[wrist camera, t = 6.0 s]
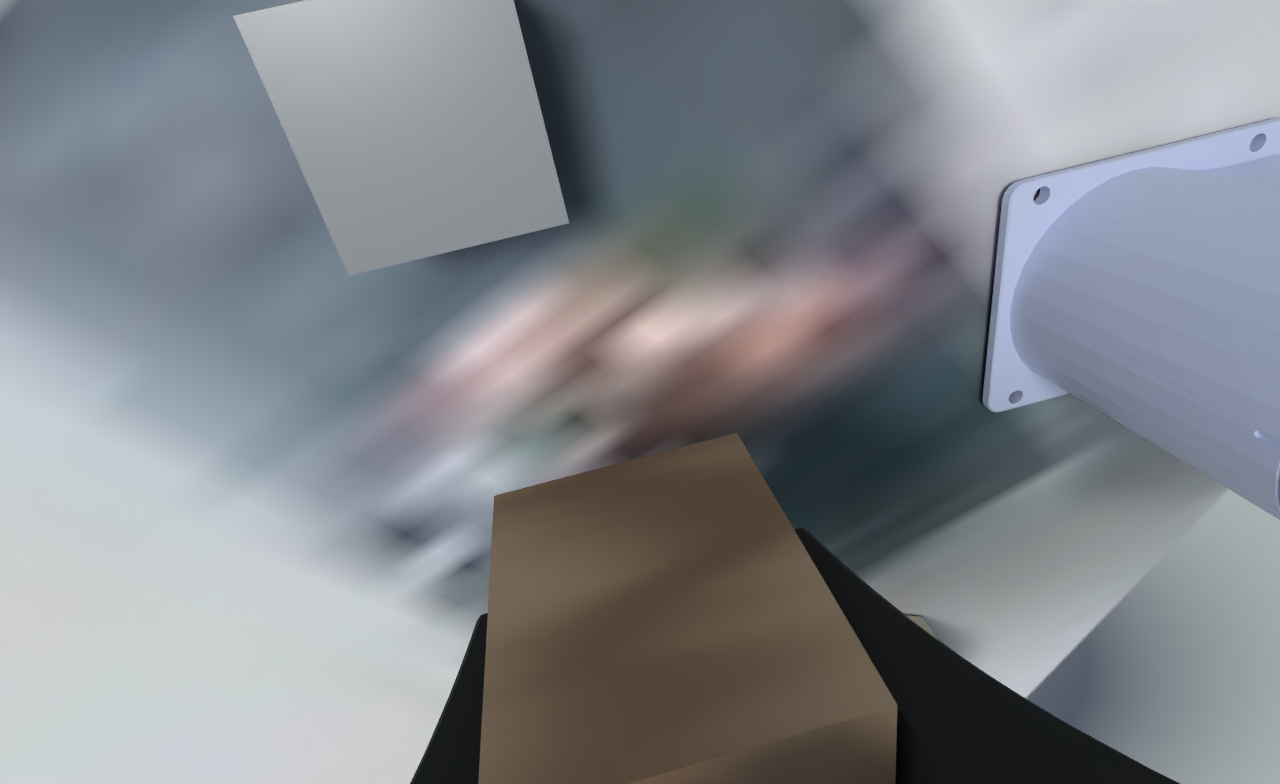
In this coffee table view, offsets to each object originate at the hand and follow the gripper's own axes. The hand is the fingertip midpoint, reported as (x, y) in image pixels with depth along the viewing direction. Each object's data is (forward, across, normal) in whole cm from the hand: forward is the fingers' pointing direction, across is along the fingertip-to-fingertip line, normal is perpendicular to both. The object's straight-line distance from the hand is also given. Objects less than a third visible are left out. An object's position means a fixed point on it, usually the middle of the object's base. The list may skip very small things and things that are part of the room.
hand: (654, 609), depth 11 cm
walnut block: (+1, 0, 0) cm, 1 cm away
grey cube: (+10, +2, -8) cm, 13 cm away
